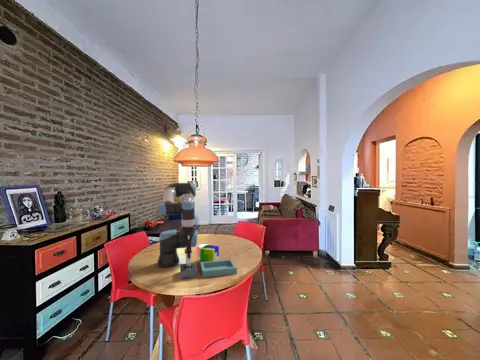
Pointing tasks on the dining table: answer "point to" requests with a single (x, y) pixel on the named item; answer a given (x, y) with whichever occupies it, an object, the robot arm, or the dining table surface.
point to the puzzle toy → (209, 253)
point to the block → (188, 271)
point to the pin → (188, 265)
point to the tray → (218, 268)
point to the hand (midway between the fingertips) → (188, 259)
